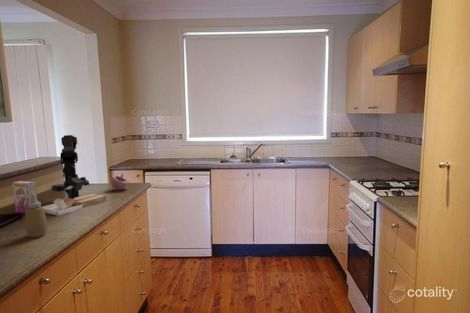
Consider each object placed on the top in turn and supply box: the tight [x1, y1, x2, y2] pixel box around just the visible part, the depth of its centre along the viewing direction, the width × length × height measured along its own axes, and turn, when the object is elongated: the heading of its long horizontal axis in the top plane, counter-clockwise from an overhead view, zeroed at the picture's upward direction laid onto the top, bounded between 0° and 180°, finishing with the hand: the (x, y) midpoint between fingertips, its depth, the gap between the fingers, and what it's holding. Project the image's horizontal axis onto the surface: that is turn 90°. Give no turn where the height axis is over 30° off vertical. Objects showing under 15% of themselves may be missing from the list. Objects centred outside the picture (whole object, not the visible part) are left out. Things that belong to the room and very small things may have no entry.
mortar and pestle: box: [110, 173, 130, 191], centre depth 211 cm, size 12×12×11 cm
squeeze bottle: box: [24, 194, 48, 239], centre depth 131 cm, size 8×8×18 cm
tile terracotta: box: [63, 197, 75, 208], centre depth 171 cm, size 5×5×2 cm
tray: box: [42, 203, 83, 217], centre depth 168 cm, size 16×14×2 cm
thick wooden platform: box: [72, 193, 107, 209], centre depth 181 cm, size 14×16×3 cm
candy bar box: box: [11, 180, 38, 215], centre depth 163 cm, size 11×5×16 cm, turn 71°
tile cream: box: [53, 197, 67, 210], centre depth 167 cm, size 5×5×2 cm
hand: (72, 200), depth 173 cm, fingers closed
